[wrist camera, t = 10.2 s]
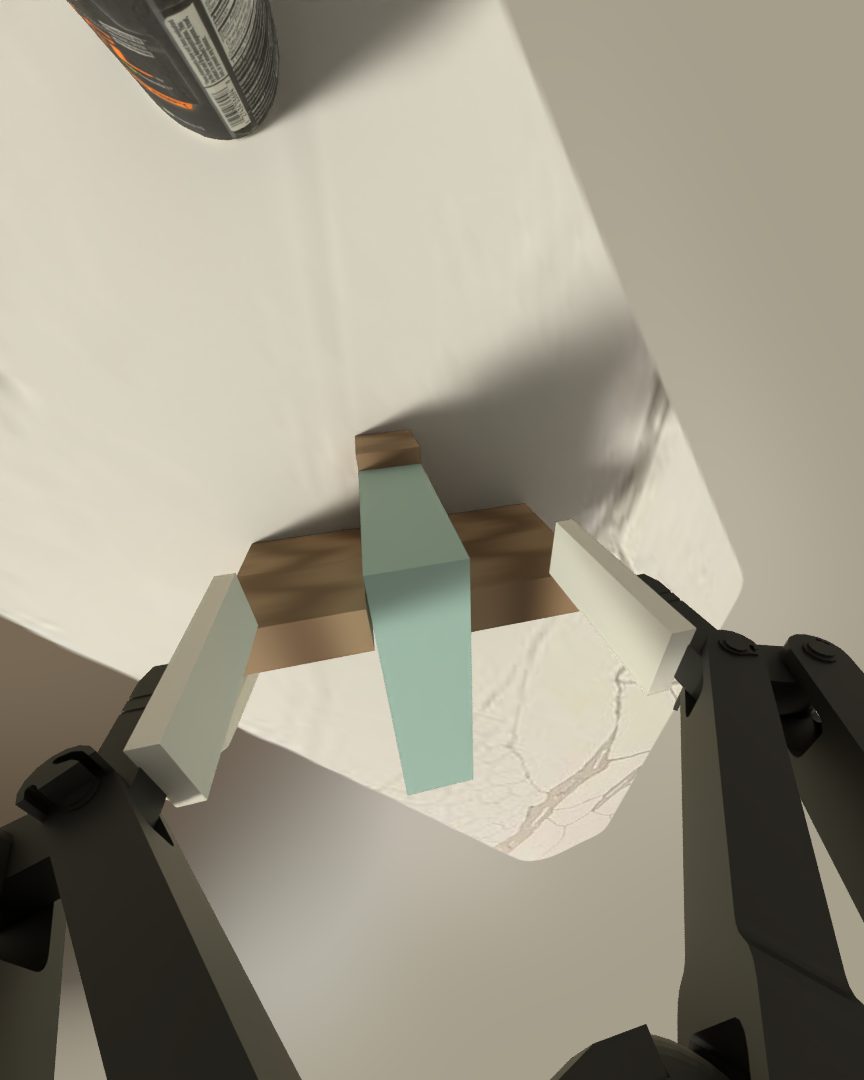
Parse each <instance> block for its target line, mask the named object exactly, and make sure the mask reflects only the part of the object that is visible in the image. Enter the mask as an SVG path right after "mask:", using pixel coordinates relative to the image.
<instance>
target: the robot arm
mask: <svg viewBox="0 0 864 1080" xmlns="http://www.w3.org/2000/svg"><path fill="white" fill-rule="evenodd" d="M549 573H550V575H551V576H552V577H553V578H554V580H555V581H556V582H557V583H558V585H559V586H560V587H561V588H562V590H563V591H564V592H565V593H566V595H567V596H568V597H569V598H570V600H571V601H572V602H573V603H574V605H575V606H576V607H577V608H578V610H579V611H580V612H581V613H582V615H583V616H584V617H585V618H586V620H587V621H588V622H589V623H590V625H591V626H592V627H593V628H594V630H595V631H596V632H597V633H598V635H599V636H600V637H601V638H602V640H603V641H604V642H605V643H606V645H607V646H608V647H609V648H610V650H611V651H612V652H613V653H614V655H615V656H616V657H617V658H618V660H619V661H620V662H621V663H622V665H623V666H624V667H625V668H626V670H627V671H628V672H629V673H630V675H631V676H632V677H633V678H634V680H635V681H636V682H637V683H638V685H639V686H640V687H641V688H642V690H643V691H644V692H645V693H646V695H652V694H656V693H660V692H664V691H668V690H669V689H670V687H671V684H672V682H673V680H674V678H675V679H676V680H677V681H678V682H679V683H680V684H681V685H682V686H683V688H682V690H681V692H680V694H679V696H678V698H677V700H676V702H675V705H674V708H673V710H676V711H677V710H678V708H679V706H680V710H681V711H680V712H681V758H682V759H681V760H682V761H681V763H682V811H683V812H682V817H683V867H684V868H683V869H684V919H685V921H684V922H685V966H684V973H683V977H682V981H681V985H680V990H679V998H678V1043H676V1042H674V1041H672V1040H669V1039H666V1038H663V1037H660V1036H656V1035H651V1034H650V1032H649V1030H648V1027H647V1025H646V1024H645V1025H642V1026H639V1027H637V1028H634V1029H632V1030H629V1031H626V1032H623V1033H621V1034H618V1035H615V1036H613V1037H610V1038H607V1039H605V1040H602V1041H599V1042H596V1043H594V1044H592V1045H591V1046H589V1047H588V1048H586V1049H584V1050H583V1051H581V1052H580V1053H578V1054H577V1055H575V1056H574V1057H572V1058H571V1059H570V1060H569V1061H568V1062H567V1063H566V1064H565V1065H564V1066H563V1067H562V1068H561V1069H560V1070H559V1071H558V1072H557V1073H556V1074H555V1075H554V1076H553V1078H551V1079H550V1080H864V1005H863V1004H862V1003H861V1002H860V1001H859V1000H858V999H857V998H856V997H855V996H854V994H853V992H852V990H851V989H850V987H849V984H848V981H847V978H846V976H845V972H844V968H843V964H842V960H841V956H840V953H839V948H838V945H837V941H836V937H835V933H834V929H833V925H832V921H831V917H830V913H829V909H828V905H827V901H826V897H825V893H824V889H823V886H822V882H821V878H820V874H819V870H818V866H817V862H816V858H815V854H814V850H813V846H812V843H811V838H810V835H809V831H808V827H807V823H806V819H805V815H804V811H803V807H802V804H801V800H802V802H803V804H804V806H805V808H806V810H807V812H808V814H809V816H810V818H811V820H812V822H813V824H814V826H815V828H816V829H817V832H818V834H819V836H820V837H821V839H822V841H823V843H824V845H825V847H826V849H827V851H828V853H829V855H830V857H831V859H832V861H833V863H834V865H835V867H836V869H837V871H838V873H839V874H840V877H841V879H842V881H843V883H844V885H845V886H846V888H847V890H848V892H849V894H850V896H851V898H852V900H853V902H854V904H855V906H856V908H857V910H858V912H859V914H860V916H861V918H862V920H863V922H864V673H863V672H862V671H861V670H860V668H859V667H858V666H857V665H856V664H855V662H854V661H853V660H852V659H851V658H850V657H849V656H848V655H847V654H846V653H845V652H844V651H843V650H841V648H839V647H837V646H835V645H834V644H832V643H830V642H828V641H826V640H823V639H821V638H818V637H814V636H810V635H805V634H804V635H803V634H802V635H801V634H796V635H793V636H791V637H789V639H788V640H787V642H786V644H785V645H784V646H768V645H756V644H755V643H754V642H753V641H752V640H750V639H748V638H746V637H745V636H743V635H740V634H738V633H735V632H732V631H727V630H717V629H715V628H714V627H713V626H712V625H711V624H710V623H708V622H707V621H706V620H705V619H704V618H702V617H701V616H700V615H699V614H698V613H696V612H695V611H694V610H693V609H692V608H690V607H689V606H688V605H687V604H686V603H684V602H683V601H680V598H678V597H677V596H676V595H675V594H674V593H671V592H670V590H669V589H668V588H666V587H665V586H664V585H663V584H662V583H660V582H659V581H657V580H655V579H653V578H651V577H649V576H647V575H645V574H640V575H635V574H634V573H633V572H632V571H631V570H630V569H629V568H628V567H626V566H625V565H624V564H623V563H622V562H621V561H620V560H618V559H617V558H616V557H615V556H614V555H613V554H612V553H610V552H609V551H608V550H607V549H606V548H605V547H604V546H603V545H601V544H600V543H599V542H598V541H597V540H596V539H595V538H593V537H592V536H591V535H590V534H589V533H588V532H587V531H586V530H584V529H583V528H582V527H581V526H580V525H579V524H578V523H576V522H575V521H574V520H573V519H570V520H564V521H558V522H556V526H555V534H554V541H553V549H552V556H551V564H550V571H549ZM257 628H258V624H257V621H256V619H255V617H254V615H253V612H252V610H251V608H250V605H249V603H248V601H247V599H246V596H245V594H244V592H243V589H242V587H241V585H240V583H239V580H238V578H237V576H236V573H233V574H227V575H221V576H215V577H214V578H213V580H212V582H211V584H210V586H209V587H208V589H207V591H206V593H205V595H204V597H203V599H202V601H201V603H200V605H199V607H198V608H197V610H196V612H195V614H194V616H193V618H192V620H191V622H190V624H189V626H188V628H187V630H186V631H185V633H184V635H183V637H182V639H181V641H180V643H179V645H178V647H177V649H176V651H175V653H174V654H173V656H172V658H171V660H170V662H169V664H165V665H160V666H155V667H153V668H152V669H151V670H150V671H149V672H148V673H147V674H146V675H145V676H144V677H143V678H142V679H141V680H140V681H139V682H138V684H137V686H136V687H135V689H134V691H133V692H132V694H131V696H130V698H129V701H127V703H126V704H125V706H124V708H123V710H122V711H121V712H122V714H121V715H119V717H118V718H117V720H116V722H115V723H114V725H113V727H112V729H111V730H110V732H109V734H108V736H107V737H106V739H105V741H104V742H103V744H102V746H101V748H100V749H99V751H98V753H97V752H96V751H95V750H94V749H93V748H92V747H90V746H82V745H79V746H76V747H72V748H69V749H66V750H64V751H62V752H60V753H58V754H56V755H54V756H53V757H51V758H50V759H48V760H47V761H46V762H45V763H43V764H42V765H40V766H39V767H38V768H37V769H36V770H35V771H34V772H33V773H32V774H31V775H30V776H29V777H28V778H27V779H26V780H25V781H24V783H23V785H22V787H21V788H20V790H19V791H18V793H17V798H16V805H17V806H18V807H20V808H21V809H23V810H24V811H25V812H27V813H28V815H26V816H23V817H21V818H19V819H17V820H15V821H13V822H11V823H9V824H7V825H5V826H3V827H1V828H0V1080H54V1070H55V1056H56V1043H57V1031H58V1018H59V1005H60V993H61V980H62V967H63V954H64V941H65V929H66V921H67V925H68V928H69V933H70V936H71V940H72V944H73V948H74V952H75V956H76V960H77V964H78V967H79V972H80V976H81V979H82V983H83V987H84V991H85V995H86V999H87V1003H88V1007H89V1011H90V1015H91V1018H92V1022H93V1026H94V1030H95V1034H96V1038H97V1042H98V1046H99V1050H100V1054H101V1057H102V1062H103V1065H104V1069H105V1073H106V1077H107V1080H301V1078H300V1076H299V1074H298V1072H297V1070H296V1068H295V1066H294V1064H293V1062H292V1061H291V1059H290V1057H289V1055H288V1053H287V1051H286V1049H285V1047H284V1045H283V1043H282V1041H281V1040H280V1038H279V1036H278V1034H277V1032H276V1030H275V1028H274V1026H273V1024H272V1022H271V1020H270V1018H269V1017H268V1015H267V1013H266V1011H265V1009H264V1007H263V1005H262V1003H261V1001H260V1000H259V998H258V996H257V994H256V992H255V990H254V988H253V986H252V984H251V982H250V980H249V978H248V976H247V975H246V973H245V971H244V969H243V967H242V965H241V963H240V961H239V959H238V957H237V955H236V954H235V952H234V950H233V948H232V946H231V944H230V942H229V940H228V938H227V936H226V934H225V933H224V931H223V929H222V927H221V925H220V923H219V921H218V919H217V917H216V915H215V913H214V911H213V910H212V908H211V906H210V904H209V902H208V900H207V898H206V896H205V894H204V892H203V890H202V889H201V887H200V885H199V883H198V881H197V879H196V877H195V875H194V873H193V871H192V869H191V868H190V866H189V864H188V862H187V860H186V858H185V856H184V854H183V852H182V850H181V849H180V846H179V845H178V843H177V841H176V839H175V837H174V835H173V833H172V831H171V829H170V827H169V826H168V824H167V822H166V820H165V818H163V816H162V815H161V814H160V813H161V810H162V808H163V805H164V802H165V800H166V797H167V798H168V799H169V800H170V801H171V802H172V803H173V805H174V806H175V807H180V806H184V805H189V804H192V803H197V802H201V801H205V800H207V798H208V795H209V791H210V788H211V784H212V781H213V778H214V774H215V771H216V768H217V764H218V761H219V757H220V753H221V751H222V747H223V744H224V740H225V737H226V734H227V730H228V727H229V723H230V720H231V717H232V713H233V710H234V706H235V703H236V700H237V696H238V693H239V689H240V686H241V682H242V679H243V676H244V672H245V669H246V665H247V662H248V659H249V655H250V652H251V648H252V645H253V642H254V638H255V635H256V631H257ZM816 711H817V713H818V714H819V716H820V717H819V716H818V714H817V713H816ZM800 798H801V799H800Z"/></svg>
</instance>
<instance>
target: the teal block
mask: <svg viewBox="0 0 864 1080" xmlns="http://www.w3.org/2000/svg"><path fill="white" fill-rule="evenodd" d="M358 475H359V498H360V521H361V544H362V566H363V579H364V584H365V589H366V594H367V599H368V603H369V608H370V613H371V618H372V623H373V628H374V633H375V638H376V643H377V648H378V653H379V657H380V662H381V667H382V672H383V677H384V682H385V687H386V692H387V697H388V702H389V706H390V711H391V716H392V721H393V726H394V731H395V736H396V741H397V746H398V751H399V756H400V760H401V765H402V770H403V775H404V780H405V785H406V790H407V795H412V794H416V793H420V792H424V791H428V790H432V789H436V788H440V787H444V786H448V785H452V784H456V783H460V782H465V781H469V780H473V727H472V664H471V601H470V558H469V556H468V554H467V552H466V550H465V548H464V546H463V544H462V542H461V540H460V539H459V537H458V535H457V533H456V531H455V529H454V527H453V525H452V523H451V521H450V519H449V517H448V515H447V513H446V511H445V509H444V507H443V506H442V504H441V502H440V500H439V498H438V496H437V494H436V492H435V490H434V488H433V486H432V484H431V482H430V480H429V478H428V476H427V474H426V473H425V471H424V469H423V467H422V465H421V463H420V464H412V465H405V466H397V467H389V468H381V469H373V470H365V471H358Z"/></svg>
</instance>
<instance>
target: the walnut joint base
mask: <svg viewBox="0 0 864 1080" xmlns="http://www.w3.org/2000/svg"><path fill="white" fill-rule="evenodd" d="M355 448H356V459H357V465H358V470H359V471H365V470H373V469H381V468H389V467H397V466H405V465H412V464H420V463H421V456H420V446H419V445H418V443H417V441H416V439H415V438H414V436H413V434H412V433H411V431H410V430H403V431H395V432H386V433H377V434H369V435H360V436H355ZM448 517H449V519H450V521H451V523H452V525H453V527H454V529H455V531H456V533H457V535H458V537H459V539H460V540H461V542H462V544H463V546H464V548H465V550H466V552H467V554H468V556H469V558H470V601H471V632H474V631H479V630H484V629H489V628H494V627H500V626H505V625H510V624H515V623H521V622H526V621H531V620H536V619H541V618H547V617H552V616H557V615H562V614H568V613H573V612H578V611H579V610H578V608H577V607H576V606H575V605H574V603H573V602H572V601H571V600H570V598H569V597H568V596H567V595H566V593H565V592H564V591H563V590H562V588H561V587H560V586H559V585H558V583H557V582H556V581H555V580H554V578H553V577H552V576H551V575H550V573H549V571H550V564H551V556H552V549H553V541H554V534H555V533H554V532H553V531H552V530H551V529H550V528H549V527H548V526H547V525H546V524H545V523H544V522H543V521H542V520H541V519H540V518H539V517H538V516H537V515H536V514H535V513H534V512H533V511H532V510H531V509H530V508H529V507H528V506H527V505H526V504H518V505H511V506H504V507H498V508H491V509H484V510H477V511H470V512H464V513H457V514H450V515H448ZM237 578H238V580H239V583H240V585H241V587H242V589H243V592H244V594H245V596H246V599H247V601H248V603H249V605H250V608H251V610H252V612H253V615H254V617H255V619H256V621H257V624H258V628H257V631H256V635H255V638H254V642H253V645H252V648H251V652H250V655H249V659H248V662H247V665H246V669H245V672H244V675H249V674H254V673H260V672H265V671H270V670H275V669H280V668H286V667H291V666H296V665H301V664H307V663H312V662H317V661H322V660H327V659H333V658H338V657H343V656H348V655H354V654H359V653H364V652H369V651H374V650H375V649H374V635H373V623H372V618H371V613H370V608H369V603H368V599H367V594H366V589H365V584H364V579H363V566H362V544H361V528H355V529H348V530H342V531H335V532H328V533H321V534H315V535H308V536H301V537H294V538H287V539H281V540H274V541H267V542H260V543H254V544H252V545H251V547H250V549H249V551H248V553H247V555H246V557H245V560H244V562H243V564H242V566H241V568H240V570H239V572H238V575H237Z"/></svg>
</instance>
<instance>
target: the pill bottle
mask: <svg viewBox="0 0 864 1080" xmlns="http://www.w3.org/2000/svg"><path fill="white" fill-rule="evenodd" d="M67 1H68V3H69V4H70V5H71V6H72V7H73V8H74V9H75V10H76V11H77V13H78V14H79V15H80V16H81V17H82V18H83V19H84V20H85V22H86V23H87V24H88V25H89V26H90V27H91V28H92V30H93V31H94V32H95V33H96V34H97V36H98V37H99V38H100V39H101V40H102V41H103V43H104V44H105V45H106V46H107V47H108V48H109V49H110V51H111V52H112V53H113V54H114V55H115V56H116V57H117V58H118V60H119V61H120V62H121V63H122V64H123V66H124V67H125V68H126V69H127V70H128V71H129V72H130V74H131V75H132V76H133V77H134V78H135V79H136V81H137V82H138V83H139V84H140V85H141V86H142V88H143V89H144V90H145V91H146V92H147V94H148V95H149V96H150V97H151V98H152V99H153V100H154V101H155V103H156V104H157V105H158V106H159V107H160V108H161V109H162V110H163V111H165V112H166V113H167V114H168V115H169V116H170V117H171V118H173V119H174V120H175V121H177V122H178V123H179V124H181V125H182V126H184V127H186V128H188V129H190V130H192V131H194V132H196V133H199V134H201V135H202V136H204V137H208V138H213V139H218V140H232V139H237V138H241V137H243V136H245V135H247V134H249V133H251V132H252V131H253V130H255V129H256V128H257V127H258V126H259V125H260V124H261V123H262V122H263V120H264V119H265V117H266V116H267V114H268V112H269V110H270V108H271V106H272V104H273V101H274V97H275V94H276V88H277V82H278V74H279V51H278V41H277V35H276V29H275V25H274V20H273V16H272V12H271V8H270V4H269V0H67Z"/></svg>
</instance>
